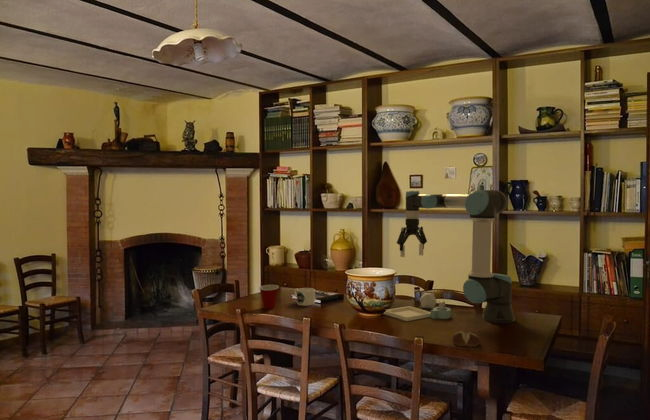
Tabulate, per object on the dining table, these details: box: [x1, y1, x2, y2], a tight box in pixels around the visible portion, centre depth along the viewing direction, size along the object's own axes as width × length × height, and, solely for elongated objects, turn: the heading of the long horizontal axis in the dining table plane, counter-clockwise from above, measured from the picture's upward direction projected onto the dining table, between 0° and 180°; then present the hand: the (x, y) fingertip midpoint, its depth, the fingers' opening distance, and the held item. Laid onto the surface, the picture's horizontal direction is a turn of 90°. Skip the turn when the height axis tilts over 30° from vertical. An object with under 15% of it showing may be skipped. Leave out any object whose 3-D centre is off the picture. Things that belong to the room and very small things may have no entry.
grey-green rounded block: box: [430, 306, 452, 320], centre depth 260 cm, size 11×8×4 cm
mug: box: [293, 287, 316, 307], centre depth 292 cm, size 13×10×8 cm
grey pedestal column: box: [438, 300, 446, 310], centre depth 261 cm, size 6×6×8 cm
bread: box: [452, 330, 481, 348], centre depth 217 cm, size 11×11×5 cm
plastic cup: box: [258, 284, 280, 310], centre depth 280 cm, size 11×11×12 cm
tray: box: [383, 305, 431, 322], centre depth 265 cm, size 18×18×2 cm
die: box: [419, 292, 438, 309], centre depth 282 cm, size 8×9×10 cm
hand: (411, 256), depth 288 cm, fingers open, 13 cm apart
